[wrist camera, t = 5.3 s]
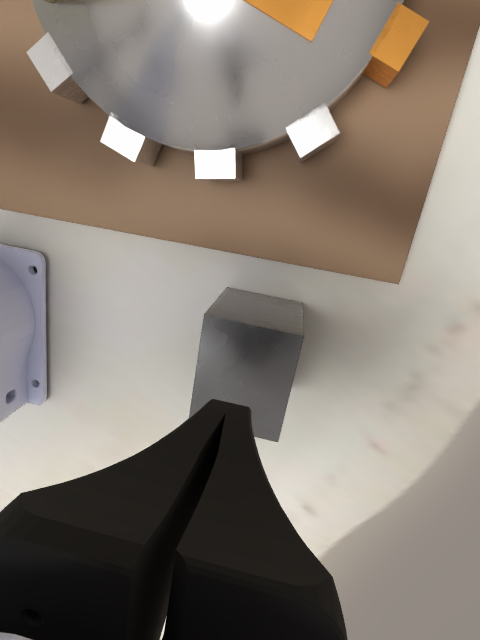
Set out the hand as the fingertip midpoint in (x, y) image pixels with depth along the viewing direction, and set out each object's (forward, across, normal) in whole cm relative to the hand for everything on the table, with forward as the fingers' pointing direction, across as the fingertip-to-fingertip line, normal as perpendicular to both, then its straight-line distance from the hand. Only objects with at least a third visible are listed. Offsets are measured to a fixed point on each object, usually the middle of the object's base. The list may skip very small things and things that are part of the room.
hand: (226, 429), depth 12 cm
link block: (+8, 0, 0) cm, 9 cm away
